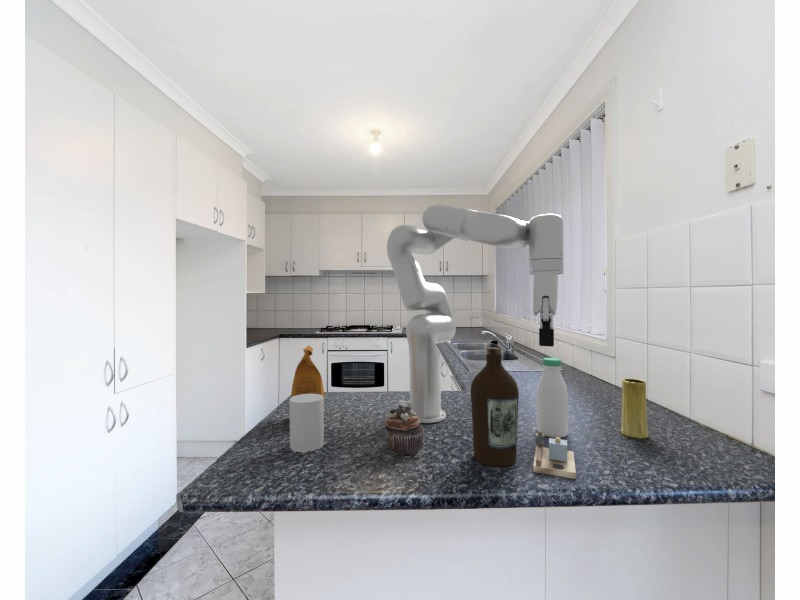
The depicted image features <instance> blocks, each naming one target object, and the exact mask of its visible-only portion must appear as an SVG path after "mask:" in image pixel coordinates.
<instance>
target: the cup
mask: <svg viewBox="0 0 800 600" xmlns="http://www.w3.org/2000/svg"><path fill="white" fill-rule="evenodd" d="M324 410H325V406H324V407H323V396H322V395H320V394H301V395H296V396H293V397H291V396H290V398H289V449H290V448H291V449H292V450H293V451H297V452H308V451H314V450H317V449H319V448H321V447H322V446H323V445H324V446H325V435H324V433H325V431H324V430H325V428H324V427H325V426H324V425H325V423H324V422H325V421H324V420H325V419H324V418H325V417H324V415H325V414H324ZM324 446H323V447H324ZM323 447H322V448H323ZM322 448H321V449H322ZM319 450H320V449H319ZM293 451H292V452H293ZM317 451H318V450H317ZM314 452H315V451H314Z"/></svg>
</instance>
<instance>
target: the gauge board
mask: <svg viewBox="0 0 800 600" xmlns="http://www.w3.org/2000/svg"><path fill="white" fill-rule="evenodd" d="M535 444H536V446H535V449H534V450H535V451H534V458H533V466H532V467H533V470H532V471H533V473H540V474H545V475H551V476H555V477H561V478H568V479H574V480H577V472H576V464H575V463H576V462H575V455H574V451H573V450H567V460H568V462H564V461H558V460H551V459H549V447H544V446H545V436H544V434H542V432H540V431H539V432H538V431H537V432H536V433H535Z"/></svg>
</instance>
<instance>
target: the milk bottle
mask: <svg viewBox="0 0 800 600" xmlns="http://www.w3.org/2000/svg"><path fill="white" fill-rule="evenodd" d="M542 367H543V370H542V375H540V379H539V381H538V384H537V388H536V430H537V433H538V432H539V431H540V432H542V434H544V437H549V438H553V439H556V437H559V438H561V439H562V438H566V437H567V436H568V434H569V397H568V396H569V395H568V388H567V384H566V382H565V381H564V378H563V376H562V373H561V368H562V360H561V359H560V358H557V357H544V358H542Z"/></svg>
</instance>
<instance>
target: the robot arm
mask: <svg viewBox="0 0 800 600" xmlns="http://www.w3.org/2000/svg"><path fill="white" fill-rule="evenodd" d="M421 221H422V225H423V226H424V227H421V226H416V225H411V224H401V225H398V226H395V227H394V228H393V229H392V230H391V232H390V233H389V235H388V239H387V242H386V254H387V256H388V260H389V264H390V266H391V268H392V270H393V271H392V272H393V274H394V276H395V279H396V280H395V281H396V284H397V287H398V290H399V295H400V298H401V301H402V304H403V306H404V308H405V309H406V310H407V311H409V312H412V313H413V312H416V313H417V312H418V313H419V312H425V313H421V314H417V315H414V316H413V317H411V318H410V319H409V320H408V322H407V324H406V329H405V333H406V338H407V345H408V351H409V399H408V401H407V400H403V399H399V400H398V406H399V405H401V406H402V407H404V409H405V407H410V408H411V410H412V411H413V412H415V413H416V416H417V417H419V418H420V423H421V424H434V423H438V422H439V423H440V422H442V421H444V420H445V419H447V413H446V411H445V410H443V409H442V388H441V387H442V386H441V385H442V381H441V380H442V379H441V378H442V376H441V375H442V374H441V373H442V372H441V370H442V367H441V363H442V362H441V361H442V360H441V355H440V352H439V351H440V350H439V349H438V347H437V344H441V343H447V342H449V341H451V340H452V339H453V338H454V337H455V334H456V330H457V328H456V326H457V325H456V322H455V321H456V320H455V318H454V315H453V311H452V307H451V305H450V301H449V299H448V295H447V294H446V291H445V290H444V288H443V287H442V286H441V285H439V284H438V283H436V282H427V281H426V280H425V277H424V276H423V272H422V268H421V266H420V264H419V262H418V261H417V260H416V259H415V257H414V256H413V254H417V255H431V254H434V253H436V252H437V251H439V250H441V249H442V248H443V247H444V246H446V245H447V244H450V243H451V242H452V241H453V240H454V239H458V240H461V241H465V242H469V241H471V242H477V243H479V244H484V245H488V246H492V247H497V248H501V249H507V250H510V251H515V252H523V251H524V252H525V251H528V259H529V260H528V266H529V267H528V269H529V271H528V274H529V275H531V276H533V282H532V284H533V286H532V287H533V288H532V290H533V291H532V294H533V296H532V298H533V299H532V300H533V301H532V315H533V316H534V317H536V316H538V314H539V329H538V345H539V347H550V348H551V347H554V346H555V329H554V328H553V327H554V326H553V325H554V323H553V318H554V317H555V316H556V315H557V314H556V313H557V309H558V308H557V307H558V295H559V294H558V293H559V292H558V289H559V285H558V283H559V282H558V281H559V279H558V278H559V277H558V276H559V275H564V219H563V218H562V216H561V215H560V214H555V213H546V214H545V213H544V214H543V213H542V214H539V215H536V216H533V217H532V218H531V219H530V220H529V221H525V220H520V219H518V218H515V217H512V216H508V215H504V214H499V213H498V214H497V213H492V212H485V211H481V210H479V211H478V210H475V209H468V208H463V207H457V206H452V205H451V206H450V205H444V204H432V205H430V206H428V207H427V208H426V209H425V210H424V211H423V214H422V217H421Z"/></svg>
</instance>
